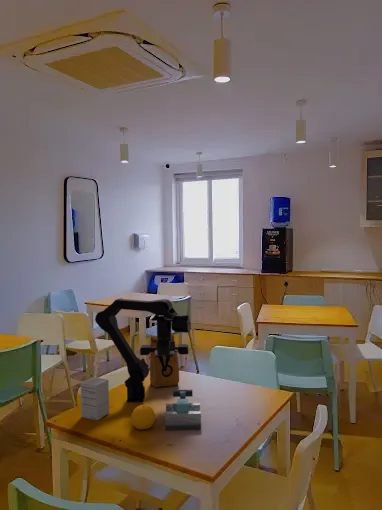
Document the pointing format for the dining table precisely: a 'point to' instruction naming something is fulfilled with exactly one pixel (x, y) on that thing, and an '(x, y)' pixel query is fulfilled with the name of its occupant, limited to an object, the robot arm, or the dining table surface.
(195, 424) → the vise
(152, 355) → the coffee package
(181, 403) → the teal block
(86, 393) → the supplement box
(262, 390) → the dining table surface
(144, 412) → the orange fruit
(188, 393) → the vise jaw
